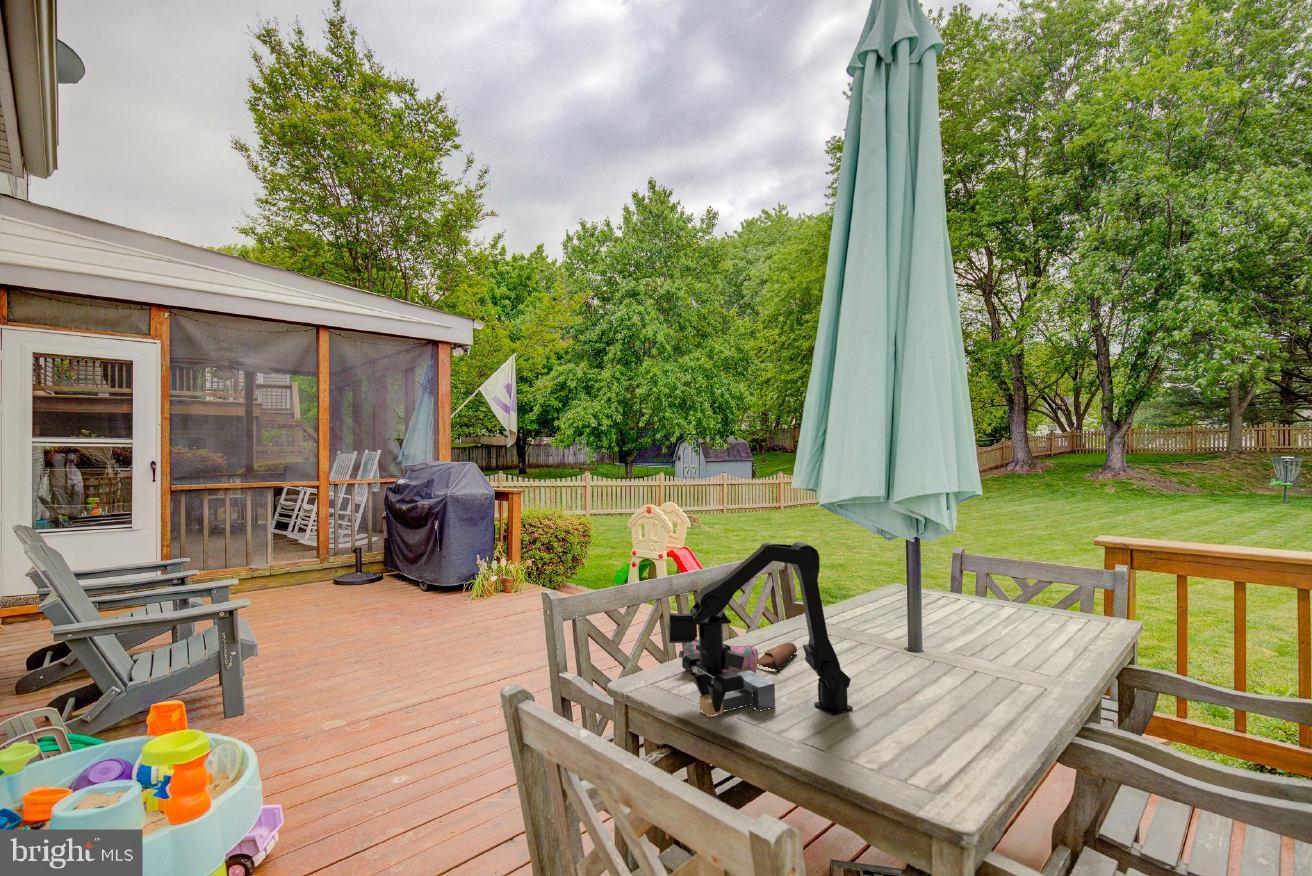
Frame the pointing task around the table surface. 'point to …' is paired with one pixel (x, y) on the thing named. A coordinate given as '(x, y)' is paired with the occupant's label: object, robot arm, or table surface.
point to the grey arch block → (759, 690)
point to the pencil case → (746, 650)
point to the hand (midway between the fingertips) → (712, 708)
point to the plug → (726, 701)
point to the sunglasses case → (777, 656)
